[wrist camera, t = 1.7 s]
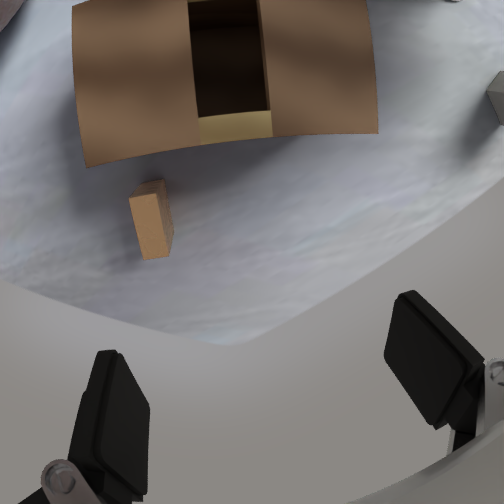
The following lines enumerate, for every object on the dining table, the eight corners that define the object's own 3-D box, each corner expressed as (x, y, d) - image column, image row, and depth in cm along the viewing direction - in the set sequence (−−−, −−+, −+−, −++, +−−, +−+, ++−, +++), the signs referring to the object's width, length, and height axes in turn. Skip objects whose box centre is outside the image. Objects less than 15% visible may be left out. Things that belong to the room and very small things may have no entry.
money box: (116, 40, 22) (72, 6, 11) (309, 21, 24) (362, -16, 13) (128, 147, 28) (86, 168, 17) (318, 124, 29) (378, 133, 19)
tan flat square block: (141, 183, 29) (128, 198, 24) (164, 178, 30) (155, 193, 24) (152, 235, 32) (143, 260, 27) (174, 231, 32) (169, 256, 27)
